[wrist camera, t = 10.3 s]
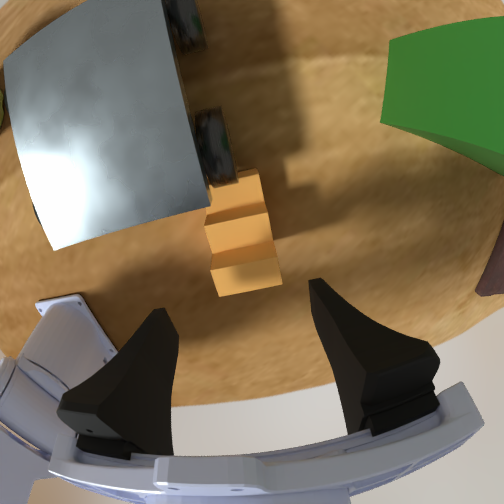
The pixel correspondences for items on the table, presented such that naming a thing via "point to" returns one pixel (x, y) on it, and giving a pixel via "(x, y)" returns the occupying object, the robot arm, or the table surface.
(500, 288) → the notebook
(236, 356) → the table surface
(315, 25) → the table surface
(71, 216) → the trolley
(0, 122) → the plant pot
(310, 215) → the table surface
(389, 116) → the hardback book
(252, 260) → the orange stepped block
